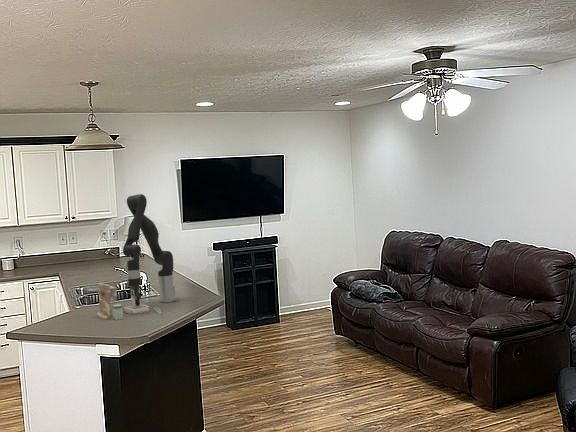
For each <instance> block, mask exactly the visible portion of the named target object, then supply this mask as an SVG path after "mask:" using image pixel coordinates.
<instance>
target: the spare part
mask: <svg viewBox="0 0 576 432" xmlns="http://www.w3.org/2000/svg"><path fill="white" fill-rule="evenodd" d="M139 296H140V295H139ZM136 297H137V296H136ZM130 298H131V306H132V308H133V309H138V308H141V304H142V301H141V299H139V300H140V305H139V306H136V299H135V296H134V295H130Z"/></svg>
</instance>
